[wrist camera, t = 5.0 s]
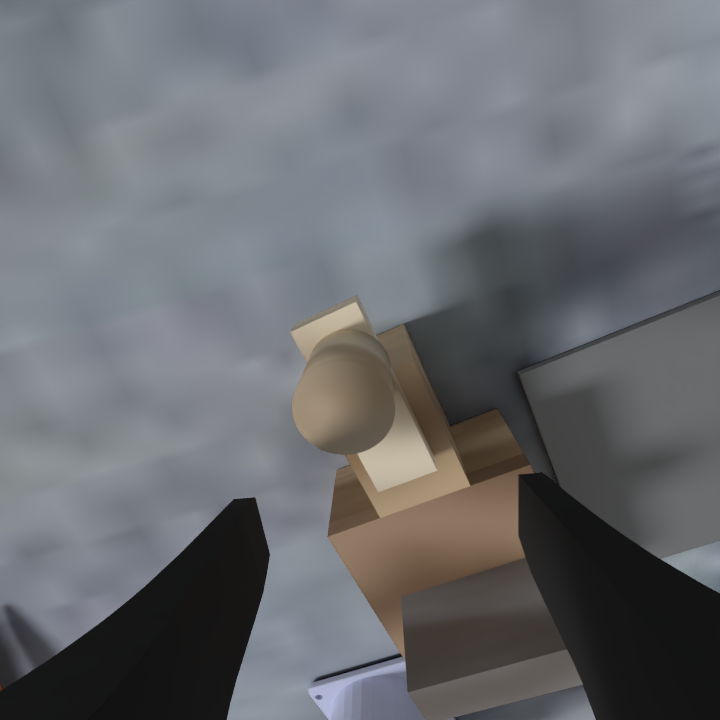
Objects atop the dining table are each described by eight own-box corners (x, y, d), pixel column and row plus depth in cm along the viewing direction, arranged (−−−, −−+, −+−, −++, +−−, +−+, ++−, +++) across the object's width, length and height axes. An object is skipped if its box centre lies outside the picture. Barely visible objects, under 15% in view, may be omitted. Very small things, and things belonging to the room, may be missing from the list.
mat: (814, 505, 22) (822, 510, 22) (591, 572, 25) (594, 578, 24) (784, 264, 18) (793, 266, 18) (516, 371, 20) (519, 374, 20)
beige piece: (438, 453, 16) (457, 527, 13) (373, 477, 17) (373, 556, 13) (362, 292, 14) (358, 325, 11) (290, 326, 15) (262, 368, 11)
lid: (582, 609, 22) (653, 745, 16) (420, 655, 23) (435, 794, 18) (516, 440, 18) (576, 541, 13) (331, 508, 20) (315, 623, 14)
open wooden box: (558, 562, 24) (600, 643, 20) (415, 606, 26) (424, 691, 22) (454, 301, 19) (478, 332, 15) (282, 376, 21) (257, 425, 16)
